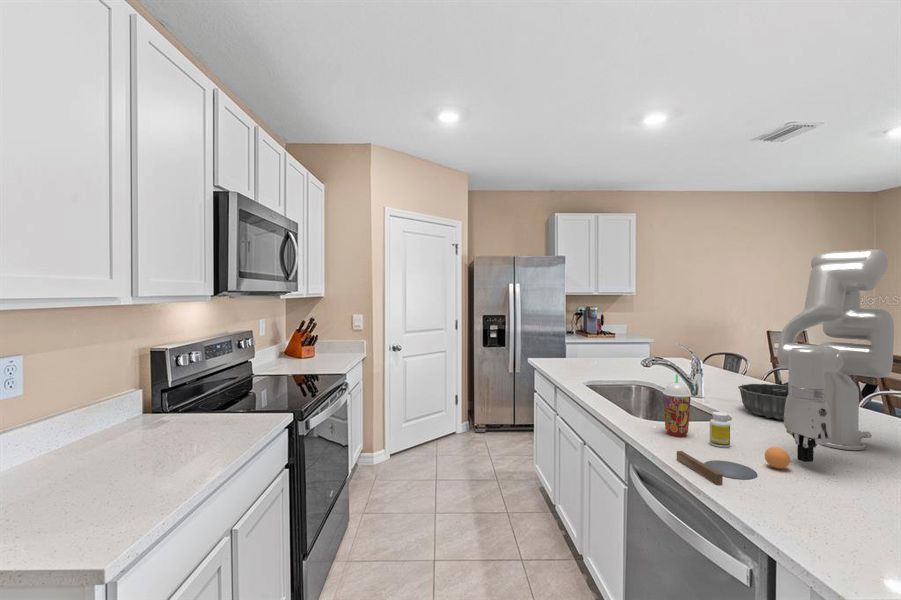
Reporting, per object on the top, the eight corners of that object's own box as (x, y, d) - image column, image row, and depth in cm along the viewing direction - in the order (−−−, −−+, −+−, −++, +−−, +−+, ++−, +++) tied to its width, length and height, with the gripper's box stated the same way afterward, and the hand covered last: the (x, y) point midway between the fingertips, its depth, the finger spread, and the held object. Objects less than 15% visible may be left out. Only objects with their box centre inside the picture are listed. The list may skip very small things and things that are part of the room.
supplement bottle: (733, 448, 130) (733, 416, 130) (713, 447, 131) (713, 415, 131) (725, 442, 136) (725, 411, 136) (706, 441, 137) (706, 410, 137)
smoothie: (657, 430, 148) (657, 372, 147) (680, 429, 148) (680, 372, 148) (672, 438, 139) (672, 377, 139) (696, 437, 140) (696, 376, 140)
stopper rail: (681, 459, 122) (681, 450, 122) (722, 484, 106) (722, 474, 106) (676, 459, 122) (676, 451, 122) (716, 484, 106) (716, 474, 106)
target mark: (733, 460, 121) (733, 459, 121) (769, 478, 109) (769, 477, 109) (693, 462, 120) (693, 461, 120) (725, 480, 108) (725, 479, 108)
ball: (755, 454, 118) (768, 468, 119) (772, 462, 113) (786, 476, 113) (768, 440, 118) (781, 453, 119) (786, 446, 113) (799, 461, 113)
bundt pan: (722, 407, 177) (722, 383, 177) (780, 405, 180) (780, 381, 180) (777, 427, 151) (777, 399, 151) (844, 424, 154) (844, 396, 154)
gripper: (846, 399, 109) (845, 471, 110) (794, 387, 124) (793, 450, 124) (819, 400, 109) (818, 472, 109) (770, 387, 123) (769, 451, 124)
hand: (805, 460), depth 117 cm, fingers closed
